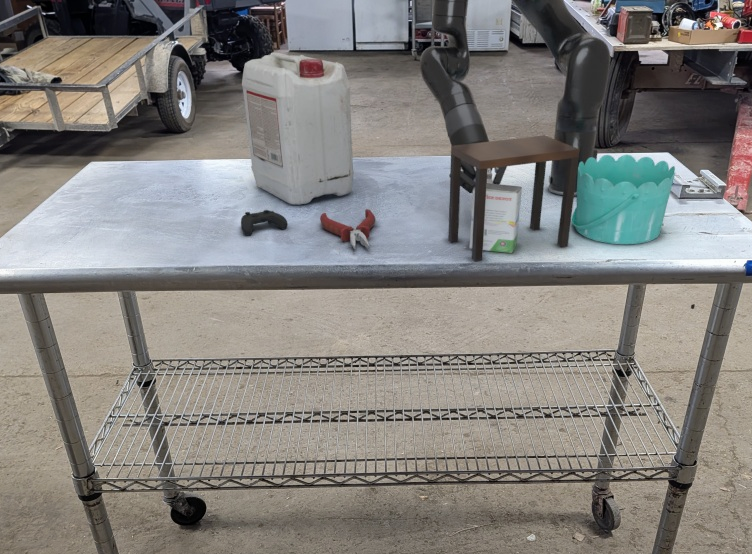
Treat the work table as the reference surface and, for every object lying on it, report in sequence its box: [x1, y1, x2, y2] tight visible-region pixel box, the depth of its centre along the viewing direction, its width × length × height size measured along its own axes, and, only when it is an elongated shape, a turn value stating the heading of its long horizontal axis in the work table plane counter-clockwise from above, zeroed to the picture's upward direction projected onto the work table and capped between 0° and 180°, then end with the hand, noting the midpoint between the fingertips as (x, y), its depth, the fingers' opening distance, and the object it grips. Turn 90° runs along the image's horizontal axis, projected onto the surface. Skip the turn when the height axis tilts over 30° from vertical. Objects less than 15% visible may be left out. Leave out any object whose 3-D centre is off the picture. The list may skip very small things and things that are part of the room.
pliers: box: [319, 208, 376, 251], centre depth 145 cm, size 12×20×3 cm, turn 12°
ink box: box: [469, 183, 523, 254], centre depth 137 cm, size 9×5×12 cm, turn 70°
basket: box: [571, 154, 676, 246], centre depth 143 cm, size 19×18×13 cm
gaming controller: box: [240, 209, 288, 236], centre depth 151 cm, size 10×5×6 cm
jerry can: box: [241, 52, 355, 206], centre depth 166 cm, size 24×19×30 cm
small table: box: [447, 135, 579, 262], centre depth 136 cm, size 20×12×18 cm, turn 110°
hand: (491, 208), depth 145 cm, fingers closed
